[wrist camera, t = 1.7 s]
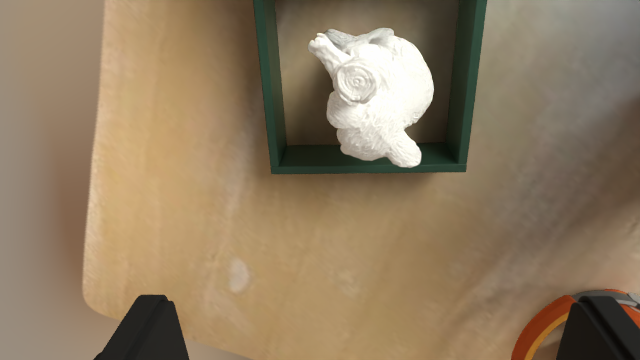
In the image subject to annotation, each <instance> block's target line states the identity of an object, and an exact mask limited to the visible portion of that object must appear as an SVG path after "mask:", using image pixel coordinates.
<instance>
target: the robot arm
mask: <svg viewBox="0 0 640 360" xmlns="http://www.w3.org/2000/svg"><path fill="white" fill-rule="evenodd" d="M94 360H189V356H188V353H187V349H186V345H185V342H184V338H183V334H182V330H181V327H180V323H179V319H178V316H177V312H176V308H175V305H174V302H173V301H168V299H167V297H166V296H165V295H140V296H139V297H138V298H137V299H136V300H135V302H134V303H133V305H132V306H131V308H130V309H129V311H128V313H127V314H126V316H125V317H124V319H123V320H122V322H121V324H120V325H119V326H118V328H117V330H116V331H115V333H114V334H113V336H112V337H111V339H110V340H109V342H108V343H107V345H106V347H105V348H104V350H103V351H102V352H101V353H99V354H98V355H97V356H96V357H95V358H94ZM556 360H640V328H639V327H638V326H637V325H636V324H635V322H634V321H633V320H632V319H631V317H630V316H629V315H628V314H627V313H626V311H625V310H624V309H623V308H622V307H621V305H620V304H619V303H618V302H617V301H616V300H615V299H614V298H613V297H611V296H581V297H580V298H579V300H578V302H574V303H572V305H571V307H570V311H569V314H568V318H567V321H566V325H565V328H564V332H563V335H562V339H561V343H560V346H559V350H558V353H557V357H556Z"/></svg>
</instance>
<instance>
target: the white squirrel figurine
mask: <svg viewBox="0 0 640 360" xmlns="http://www.w3.org/2000/svg"><path fill="white" fill-rule="evenodd" d="M308 51H310V52H311V53H313V54H314V55H315V56H316V57H317V58H319V59H320V60H321V62H322V63H323V64H324V65H325V69H327V71H328V72H329V74H330V76H331V78H332V80H333V87H334V89H335V91H333V92H332V93H330V96H329V100H328V104H327V107H328V108H327V119H328V121H329V122H330V123H331V125H333V126H334V127H335V128H338V130H337V138H338V140H339V141H340V143H341V144H342V145H341V148H340V149H341V151H342V152H343V153H344V154H346V155H351V156H353V157H356V158H359V159H361V160H370V161H373V160H375V159H378V158H382V157H388V158H389V160H390V161H391V162H392V163H393V164H395V165H398V166H399V167H408V168H412V167H414V166H417V165H418V164H419V163H420V161H421V151H420V149H419V147H418V146H417V145H416V143H415V141H413V140H411V139H410V138H409V137H408V136H407V134H406V133H405V131H404V129H405V128H406V127H408V126H411V124H413V123H416V122H417V121H418V119H420V118H421V117H422V115H423V114H424V113H425V111H426V109H427V108H428V107H429V106H430V104H431V102H432V99H433V92H434V86H433V81H432V76H431V72H430V70H429V68H428V67H427V64H426V63H425V61H424V59H423V56H422V54H420V52H419V50H418V49H417V48H416V47H415V45H414V44H412V43H411V42H408V41H407V40H405V39H403V38H399V37H396V36H394V31H393V30H392V29H390V28H378V29H376V30H373V31H370V32H369V33H368V34H361V35H359V36H353V35H350V34H345V33H343V32H340V31H338V30H335V29H328V30H327V32H325V33H324V34H322V33H317V38H315V40H314V41H313V40H311V41H310V43H309V44H308Z"/></svg>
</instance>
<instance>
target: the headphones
mask: <svg viewBox="0 0 640 360" xmlns="http://www.w3.org/2000/svg"><path fill="white" fill-rule="evenodd" d="M581 296H611V297H613V298H614V299H615V300H616V301H617V302H618V303H619V304H620V305H621V307H622V308H623V309H624V310H625V311H626V313H627V314H628V315H629V316H630V317H631V319H632V320H633V321H634V322H635V324H636V325H637V326H638V327H639V328H640V296H638V295H636V294H634V293H628V294H627V293H625V292H622V291H619V290H614V289H605V290H604V291H587V292H583V293H579V294H576V295H573V296H570V295H564V296H562V297H560V298H559V299H557V300H555V301H554V302H552V303H551V304H549V305H547V306H546V307H545V308H544V309H542V310H541V311H540V312H539V313H538V314H537V315H536V316H535V317H534V318H533V319H532V320H531V321H530V322H529V323H528V324H527V326H526V327H525V328H524V330H523V331H522V333H521V334H520V336H519V338H518V340H517V342H516V344H515V347H514V349H513V352H512V356H511V360H532V358H533V355H534V354H535V352H536V350H537V348H538V347H539V345H540V344H541V342H542V341H543V340H544V339H545V337H546V336H547V335H548V334H549V333H550V332H551V331H552V330H553V329H555V328H556V327H557V326H558V325H560V324H561V323H562V322H564V321H565V320H567V318H568V314H569V311H570V307H571V305H572V303H574V302H578V300H579V298H580V297H581Z"/></svg>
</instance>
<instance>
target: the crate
mask: <svg viewBox="0 0 640 360" xmlns="http://www.w3.org/2000/svg"><path fill="white" fill-rule="evenodd" d="M253 4H254V13H255V23H256V32H257V42H258V51H259V61H260V70H261V80H262V89H263V99H264V108H265V118H266V127H267V137H268V146H269V156H270V165H271V174H340V173H425V172H466V166H467V157H468V149H469V141H470V133H471V125H472V117H473V109H474V101H475V93H476V85H477V77H478V69H479V61H480V53H481V45H482V37H483V29H484V20H485V12H486V4H487V0H459V9H458V20H457V30H456V40H455V51H454V61H453V71H452V82H451V92H450V102H449V113H448V123H447V133H446V143H416V145H417V146H418V147H419V149H420V151H421V161H420V163H419V164H418V165H417V166H414V167H412V168H408V167H399V166H398V165H395V164H393V163H392V162H391V161H390V160H389V158H388V157H382V158H378V159H375V160H373V161H370V160H361V159H359V158H356V157H353V156H351V155H346V154H344V153H343V152H342V151H341V149H340V148H341V145H287V142H286V130H285V118H284V107H283V95H282V83H281V71H280V59H279V47H278V35H277V24H276V12H275V0H253Z"/></svg>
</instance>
